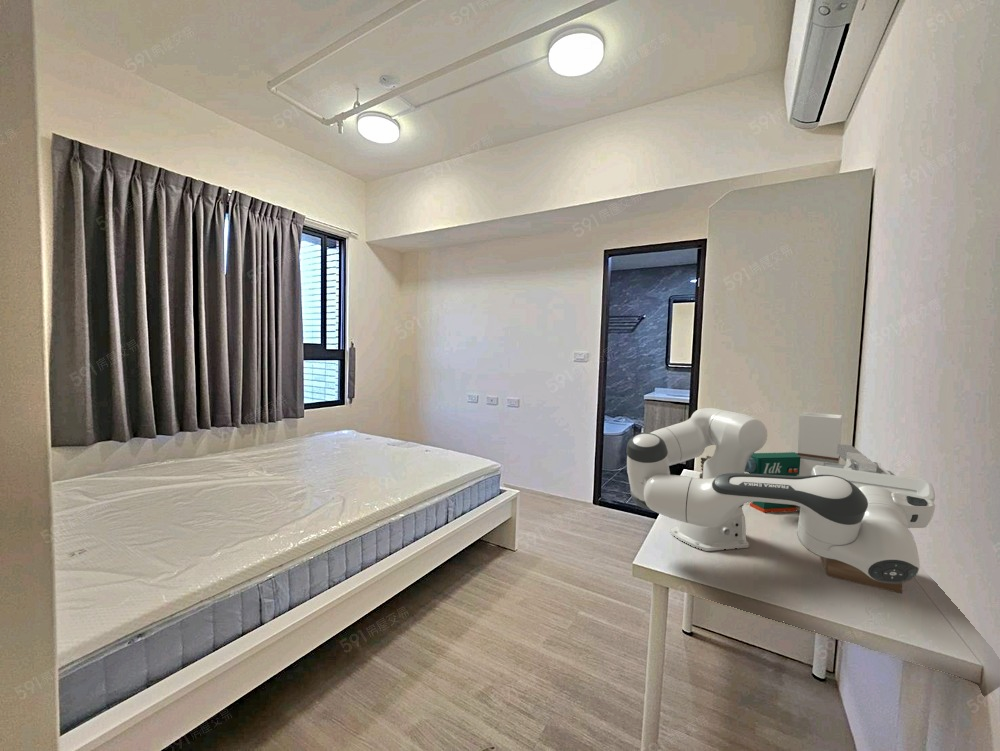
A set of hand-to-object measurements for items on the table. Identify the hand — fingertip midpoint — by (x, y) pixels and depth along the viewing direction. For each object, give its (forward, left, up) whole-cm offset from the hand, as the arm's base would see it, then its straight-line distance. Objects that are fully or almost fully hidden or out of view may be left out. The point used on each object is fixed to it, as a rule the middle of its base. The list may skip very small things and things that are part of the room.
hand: (862, 462), depth 96 cm
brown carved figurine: (+27, +64, -32) cm, 76 cm away
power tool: (+32, +43, -32) cm, 62 cm away
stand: (+13, +6, -32) cm, 35 cm away
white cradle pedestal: (+49, +35, -31) cm, 68 cm away
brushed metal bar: (+6, +4, -2) cm, 7 cm away
